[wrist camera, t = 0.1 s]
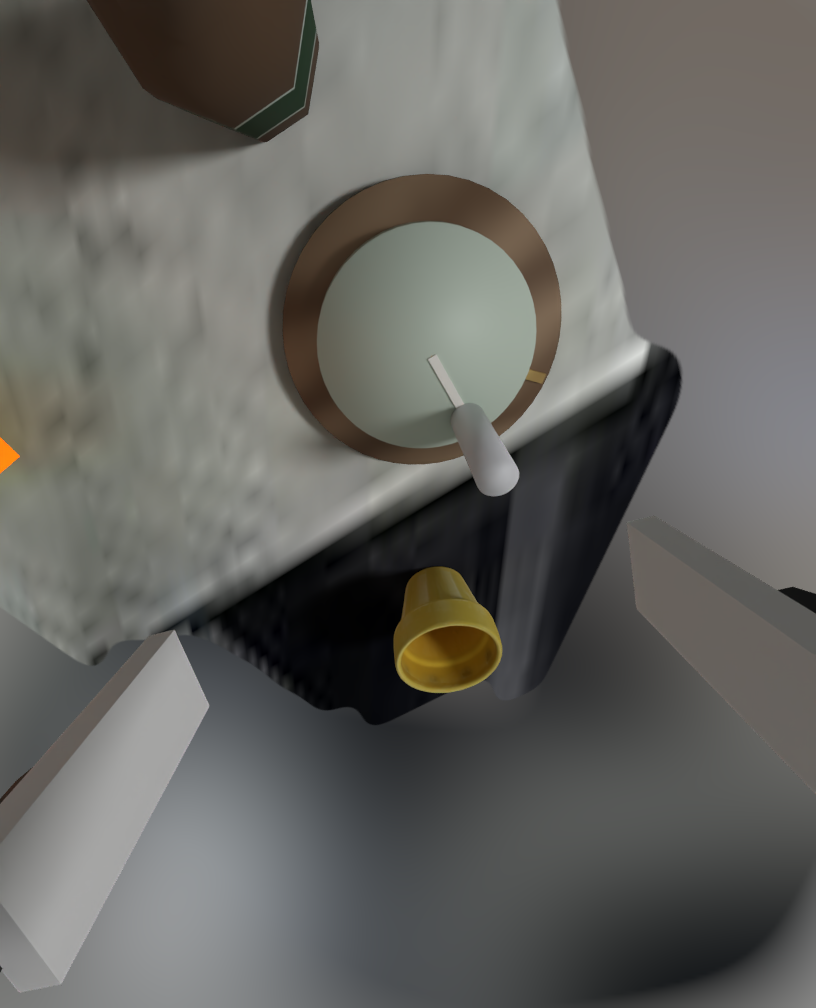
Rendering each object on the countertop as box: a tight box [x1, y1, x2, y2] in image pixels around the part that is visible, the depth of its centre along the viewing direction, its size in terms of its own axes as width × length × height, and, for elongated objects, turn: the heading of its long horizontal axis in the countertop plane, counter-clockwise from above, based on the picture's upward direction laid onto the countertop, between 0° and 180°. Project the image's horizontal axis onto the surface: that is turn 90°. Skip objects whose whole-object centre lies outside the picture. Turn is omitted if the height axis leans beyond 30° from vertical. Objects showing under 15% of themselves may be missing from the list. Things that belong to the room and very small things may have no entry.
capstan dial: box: [317, 221, 537, 496], centre depth 31 cm, size 16×16×11 cm
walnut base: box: [283, 174, 561, 464], centre depth 36 cm, size 21×21×2 cm
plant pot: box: [394, 567, 502, 693], centre depth 48 cm, size 10×10×10 cm
